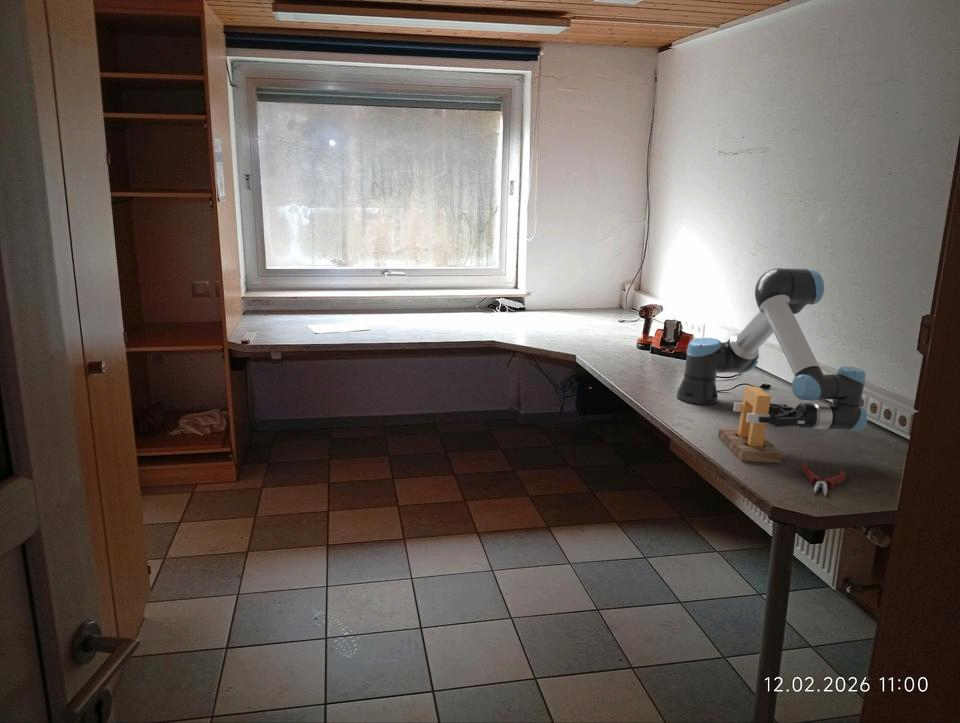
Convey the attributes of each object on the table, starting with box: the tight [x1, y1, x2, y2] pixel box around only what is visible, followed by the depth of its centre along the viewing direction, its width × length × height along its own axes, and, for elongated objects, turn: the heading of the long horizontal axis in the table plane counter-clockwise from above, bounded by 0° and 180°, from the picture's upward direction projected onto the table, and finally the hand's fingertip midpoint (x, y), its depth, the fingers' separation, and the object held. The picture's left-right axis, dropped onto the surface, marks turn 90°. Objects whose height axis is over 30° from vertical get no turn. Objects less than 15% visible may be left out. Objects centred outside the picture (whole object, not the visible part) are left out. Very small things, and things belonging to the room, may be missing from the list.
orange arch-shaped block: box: [737, 385, 772, 447], centre depth 211 cm, size 10×4×16 cm, turn 0°
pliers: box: [800, 462, 846, 497], centre depth 191 cm, size 12×20×3 cm, turn 152°
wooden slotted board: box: [717, 427, 783, 464], centre depth 214 cm, size 20×12×3 cm, turn 0°
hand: (740, 412), depth 211 cm, fingers closed on orange arch-shaped block, 10 cm apart
